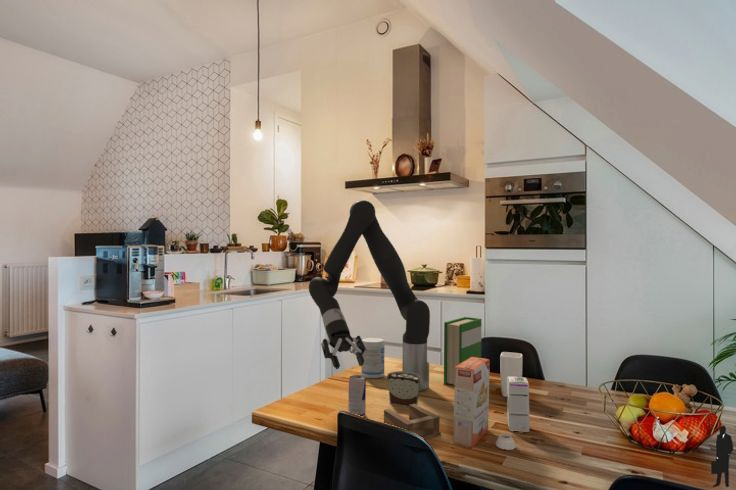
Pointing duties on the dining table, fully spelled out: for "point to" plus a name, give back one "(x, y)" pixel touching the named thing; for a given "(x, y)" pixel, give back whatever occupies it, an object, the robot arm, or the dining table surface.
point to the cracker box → (471, 401)
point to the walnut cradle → (415, 421)
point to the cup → (509, 368)
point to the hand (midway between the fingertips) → (350, 366)
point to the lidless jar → (505, 442)
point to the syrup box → (518, 404)
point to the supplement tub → (373, 358)
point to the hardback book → (460, 344)
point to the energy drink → (357, 395)
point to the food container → (403, 388)
